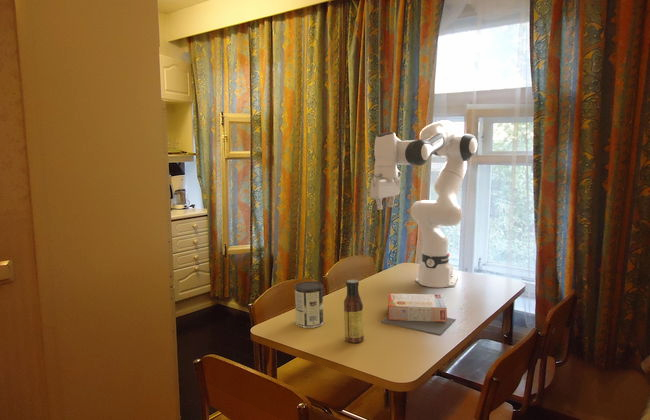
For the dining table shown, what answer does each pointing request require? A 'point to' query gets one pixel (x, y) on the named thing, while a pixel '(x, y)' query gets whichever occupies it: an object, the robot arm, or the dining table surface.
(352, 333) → the sauce bottle
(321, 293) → the coffee can
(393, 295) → the cracker box
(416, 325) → the mat
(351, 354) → the dining table surface
